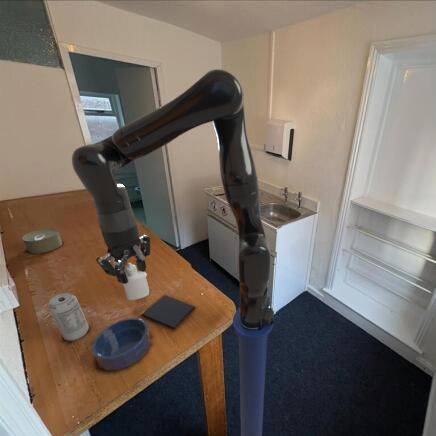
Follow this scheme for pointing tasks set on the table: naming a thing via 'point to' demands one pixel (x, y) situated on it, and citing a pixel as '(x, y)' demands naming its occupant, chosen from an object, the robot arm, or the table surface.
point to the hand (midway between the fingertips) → (133, 276)
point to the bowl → (121, 344)
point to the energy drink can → (68, 316)
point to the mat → (168, 311)
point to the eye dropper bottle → (135, 283)
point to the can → (42, 240)
